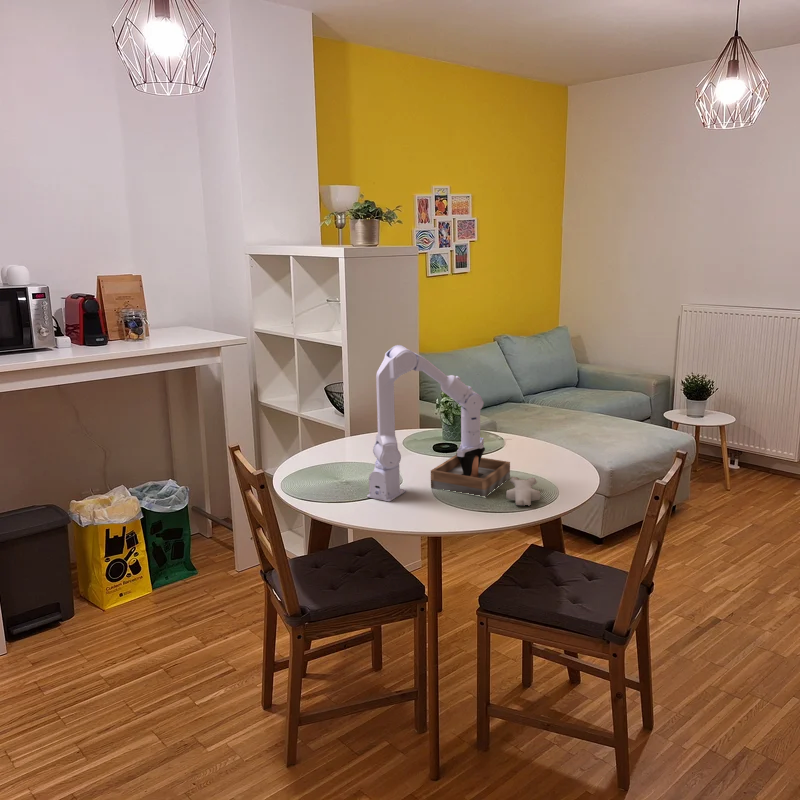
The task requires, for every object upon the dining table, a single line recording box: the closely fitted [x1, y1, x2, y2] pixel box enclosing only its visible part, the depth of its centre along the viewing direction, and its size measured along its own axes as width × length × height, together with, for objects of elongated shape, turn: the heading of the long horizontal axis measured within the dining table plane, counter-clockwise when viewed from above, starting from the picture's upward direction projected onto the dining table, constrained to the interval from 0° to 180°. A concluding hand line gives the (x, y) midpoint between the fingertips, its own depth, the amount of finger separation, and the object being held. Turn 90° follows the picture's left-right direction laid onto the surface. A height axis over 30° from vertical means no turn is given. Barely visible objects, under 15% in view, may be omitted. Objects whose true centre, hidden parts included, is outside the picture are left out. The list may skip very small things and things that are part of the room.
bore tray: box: [430, 454, 511, 498], centre depth 223 cm, size 18×18×6 cm
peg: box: [471, 456, 478, 478], centre depth 222 cm, size 4×4×7 cm
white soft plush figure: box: [505, 476, 541, 507], centre depth 210 cm, size 10×5×15 cm
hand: (470, 472), depth 222 cm, fingers closed on peg, 4 cm apart
